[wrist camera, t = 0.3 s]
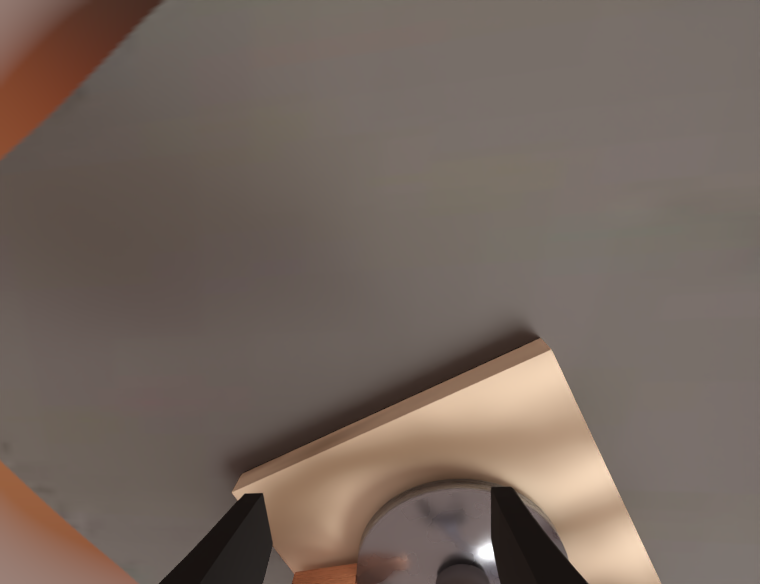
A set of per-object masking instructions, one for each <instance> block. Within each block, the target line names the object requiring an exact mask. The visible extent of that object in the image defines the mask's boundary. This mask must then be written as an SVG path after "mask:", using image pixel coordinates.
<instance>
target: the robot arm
mask: <svg viewBox="0 0 760 584" xmlns="http://www.w3.org/2000/svg"><path fill="white" fill-rule="evenodd" d="M491 543H492V548H493V552H494V557H495V562H496V567H497V571H498V576H499V580H500V583H501V584H589V583H588V582H587V581H586V580H585V579H584V578H583V577H582V575H581V574H580V573H579V572H578V571H577V570H576V569H575V568H574V566H573V565H572V564H571V563H570V562H569V561H568V559H567V558H566V557H565V556H564V555H563V553H562V552H561V551H560V550H559V549H558V547H557V546H556V545H555V544H554V542H553V541H552V540H551V539H550V537H549V536H548V535H547V534H546V532H545V531H544V530H543V529H542V527H541V526H540V525H539V523H538V522H537V521H536V519H535V518H534V517H533V515H532V514H531V513H530V511H529V510H528V508H527V507H526V506H525V504H524V503H523V501H522V500H521V498H520V497H519V496H518V494H517V493H516V491H515V490H514V489H513V488H512V487H511V486H510V487H491ZM272 545H273V541H272V536H271V531H270V526H269V521H268V516H267V511H266V506H265V501H264V495H263V493H245V494H244V495H243V496H242V497H241V498H240V499H239V500H238V501H237V502H236V503H235V504H234V505H233V506H232V508H231V509H230V510H229V511H228V512H227V513H226V514H225V515H224V516H223V517H222V519H221V520H220V521H219V522H218V523H217V524H216V525H215V526H214V527H213V528H212V529H211V531H210V532H209V533H208V534H207V535H206V536H205V537H204V538H203V539H202V540H201V541H200V542H199V543H198V544H197V545H196V547H195V548H194V549H193V550H192V551H191V552H190V553H189V554H188V555H187V556H186V557H185V558H184V559H183V560H182V561H181V562H180V563H179V564H178V565H177V566H176V567H175V568H174V569H173V570H172V571H171V572H170V573H169V574H168V575H167V576H166V577H165V578H164V579H163V580H162V581H161V582H160V583H159V584H262V583H263V580H264V577H265V573H266V569H267V565H268V561H269V557H270V553H271V549H272Z"/></svg>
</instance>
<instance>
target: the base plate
mask: <svg viewBox="0 0 760 584" xmlns="http://www.w3.org/2000/svg"><path fill="white" fill-rule="evenodd" d="M446 479H474V480H483V481H487V482H492V483H496V484H499V485H502V486H505V487H510V486H511V487H512V488H513V489H514V490H515V491H516V492H518V493H520V494H522V495H524V496H525V497H527V498H528V499H530V500H531V501H533V502H534V503H535V504H536V505H537V506H538V507H540V508H541V509H542V510H543V511H544V513H545V514H546V515H547V516H548V517H549V518H550V520H551V522H552V523H553V525H554V526H555V528H556V530H557V532H558V535H559V537H560V539H561V541H562V543H563V545H564V548H565V550H566V552H567V555H568V559H569V562H570V563H571V564H572V565H573V566H574V568H575V569H576V570H577V571H578V572H579V573H580V574H581V575H582V577H583V578H584V579H585V580H586V581H587V582H588V583H589V584H661V582H660V580H659V578H658V576H657V574H656V571H655V569H654V567H653V565H652V563H651V561H650V559H649V557H648V554H647V552H646V550H645V548H644V546H643V544H642V542H641V539H640V537H639V535H638V533H637V531H636V529H635V527H634V525H633V522H632V520H631V518H630V516H629V514H628V512H627V510H626V507H625V505H624V503H623V501H622V499H621V497H620V495H619V493H618V490H617V488H616V486H615V484H614V482H613V480H612V478H611V475H610V473H609V471H608V469H607V467H606V465H605V463H604V461H603V458H602V456H601V454H600V452H599V450H598V448H597V446H596V443H595V441H594V439H593V437H592V435H591V433H590V431H589V429H588V426H587V424H586V422H585V420H584V418H583V416H582V414H581V411H580V409H579V407H578V405H577V403H576V401H575V399H574V397H573V394H572V392H571V390H570V388H569V386H568V384H567V382H566V380H565V377H564V375H563V373H562V371H561V369H560V367H559V365H558V362H557V360H556V358H555V356H554V354H553V352H552V350H551V349H550V347H549V346H548V345H547V344H546V343H545V342H544V341H543V340H542V339H541V338H539V339H537V340H535V341H533V342H531V343H528V344H526V345H524V346H522V347H520V348H517V349H515V350H513V351H511V352H509V353H506V354H504V355H502V356H500V357H498V358H496V359H493V360H491V361H489V362H487V363H485V364H482V365H480V366H478V367H476V368H474V369H471V370H469V371H467V372H465V373H463V374H460V375H458V376H456V377H454V378H452V379H449V380H447V381H445V382H443V383H441V384H438V385H436V386H434V387H432V388H430V389H427V390H425V391H423V392H421V393H419V394H416V395H414V396H412V397H410V398H408V399H405V400H403V401H401V402H399V403H397V404H394V405H392V406H390V407H388V408H386V409H383V410H381V411H379V412H377V413H375V414H372V415H370V416H368V417H366V418H364V419H361V420H359V421H357V422H355V423H353V424H350V425H348V426H346V427H344V428H342V429H339V430H337V431H335V432H333V433H331V434H328V435H326V436H324V437H322V438H320V439H317V440H315V441H313V442H311V443H309V444H306V445H304V446H302V447H300V448H298V449H295V450H293V451H291V452H289V453H287V454H284V455H282V456H280V457H278V458H276V459H273V460H271V461H269V462H267V463H265V464H262V465H260V466H258V467H256V468H254V469H251V470H249V471H247V472H245V473H243V474H241V476H240V478H239V480H238V482H237V484H236V485H235V487H234V489H233V491H232V494H233V495H234V496H235V498H236V499H237V500H239V499H240V498H241V497H242V496H243V495H244V494H245V493H263V495H264V501H265V506H266V511H267V516H268V521H269V526H270V531H271V536H272V541H273V545H272V546H273V547H274V548H275V550H276V551H277V552H278V553H279V555H280V556H281V557H282V559H283V560H284V561H285V562H286V564H287V565H288V566H289V568H290V569H291V570H292V572H293V573H294V574H295V572H299V571H306V570H313V569H320V568H327V567H334V566H341V565H348V564H356V563H357V561H358V552H359V545H360V541H361V537H362V534H363V532H364V530H365V528H366V526H367V524H368V523H369V521H370V520H371V518H372V517H373V516H374V514H375V513H376V512H377V511H378V510H379V509H380V508H381V507H382V506H383V505H384V504H386V503H387V502H388V501H389V500H391V499H392V498H394V497H395V496H397V495H398V494H400V493H402V492H404V491H406V490H408V489H410V488H413V487H416V486H419V485H421V484H424V483H429V482H433V481H438V480H446ZM436 584H490V582H489V579H488V577H487V575H486V574H485V573H484V572H483V571H482V570H481V569H479V568H477V567H475V566H472V565H468V564H457V565H453V566H450V567H447V568H446V569H444V570H443V571H442V572H440V574H439V575H438V577H437V579H436Z"/></svg>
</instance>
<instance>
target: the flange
mask: <svg viewBox="0 0 760 584" xmlns="http://www.w3.org/2000/svg"><path fill="white" fill-rule="evenodd" d="M491 487H505V486H502V485H499V484H496V483H492V482H487V481H483V480H474V479H446V480H438V481H433V482H429V483H424V484H421V485H419V486H416V487H413V488H410V489H408V490H406V491H404V492H402V493H400V494H398V495H397V496H395V497H394V498H392V499H391V500H389V501H388V502H387V503H386V504H384V505H383V506H382V507H381V508H380V509H379V510H378V511H377V512H376V513H375V514H374V516H373V517H372V518H371V520H370V521H369V523H368V524H367V526H366V528H365V530H364V532H363V534H362V537H361V541H360V545H359V552H358V561H357V563H356V564H348V565H341V566H334V567H327V568H320V569H313V570H306V571H299V572H295V574H294V578H293V581H292V584H436V579H437V577H438V575H439V574H440V572H442V571H443V570H444V569H446V568H447V567H450V566H453V565H457V564H468V565H472V566H475V567H477V568H479V569H481V570H482V571H483V572H484V573H485V574H486V575H487V577H488V579H489V582H490V584H501V583H500V580H499V576H498V571H497V567H496V562H495V557H494V552H493V548H492V543H491ZM516 493H517V494H518V496H519V497H520V498H521V500H522V501H523V503H524V504H525V506H526V507H527V508H528V510H529V511H530V513H531V514H532V515H533V517H534V518H535V519H536V521H537V522H538V523H539V525H540V526H541V527H542V529H543V530H544V531H545V532H546V534H547V535H548V536H549V537H550V539H551V540H552V541H553V542H554V544H555V545H556V546H557V547H558V549H559V550H560V551H561V552H562V553H563V555H564V556H565V557H566V558H567V559H568V555H567V552H566V550H565V548H564V545H563V543H562V541H561V539H560V537H559V535H558V532H557V530H556V528H555V526H554V525H553V523H552V522H551V520H550V518H549V517H548V516H547V515H546V514H545V513H544V511H543V510H542V509H541V508H540V507H538V506H537V505H536V504H535V503H534V502H533V501H531V500H530V499H528V498H527V497H525V496H524V495H522V494H520V493H518V492H516ZM568 561H569V559H568Z"/></svg>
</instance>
